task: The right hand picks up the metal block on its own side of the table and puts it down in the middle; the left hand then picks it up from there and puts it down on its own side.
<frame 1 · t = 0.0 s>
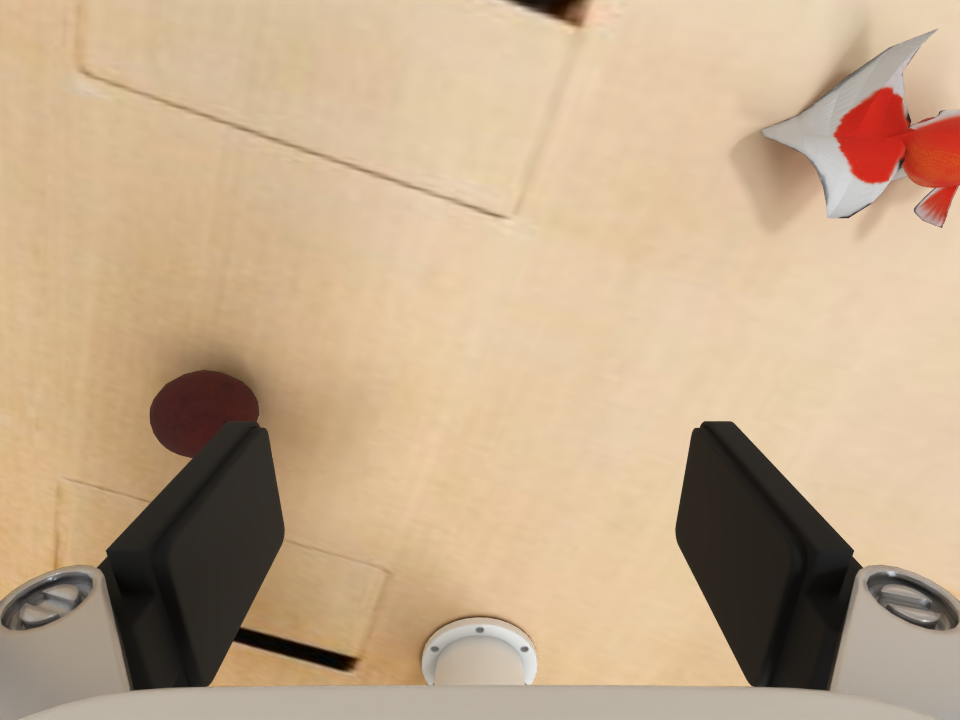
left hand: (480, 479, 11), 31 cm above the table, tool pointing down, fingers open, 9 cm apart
fish: (849, 148, 38), on the table
plum: (228, 395, 45), on the table
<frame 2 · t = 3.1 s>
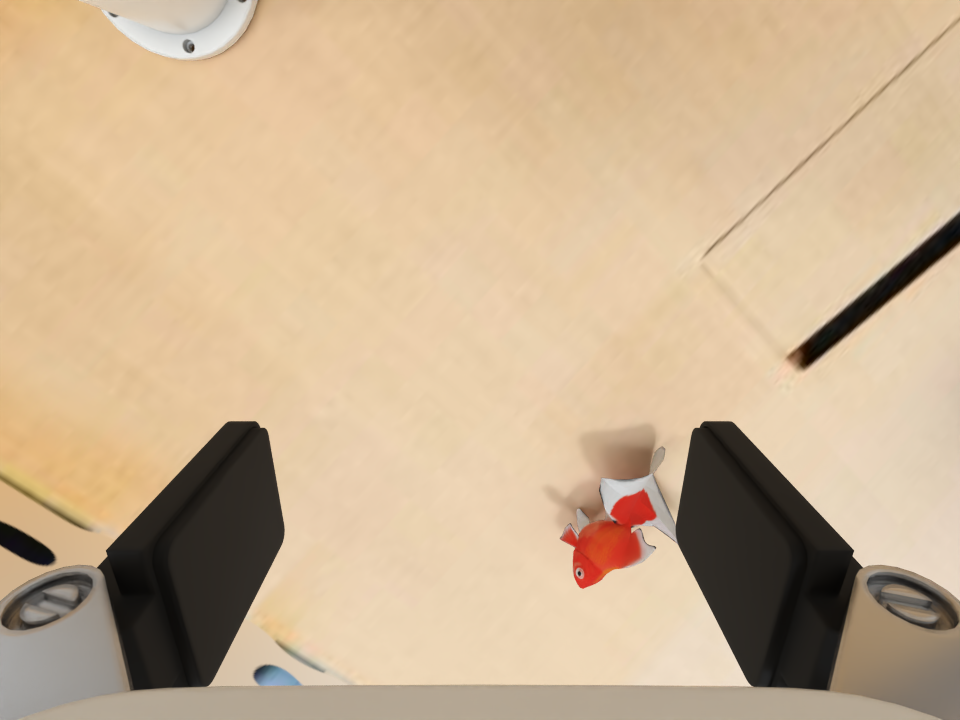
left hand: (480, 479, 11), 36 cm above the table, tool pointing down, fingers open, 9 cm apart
fish: (610, 491, 55), on the table
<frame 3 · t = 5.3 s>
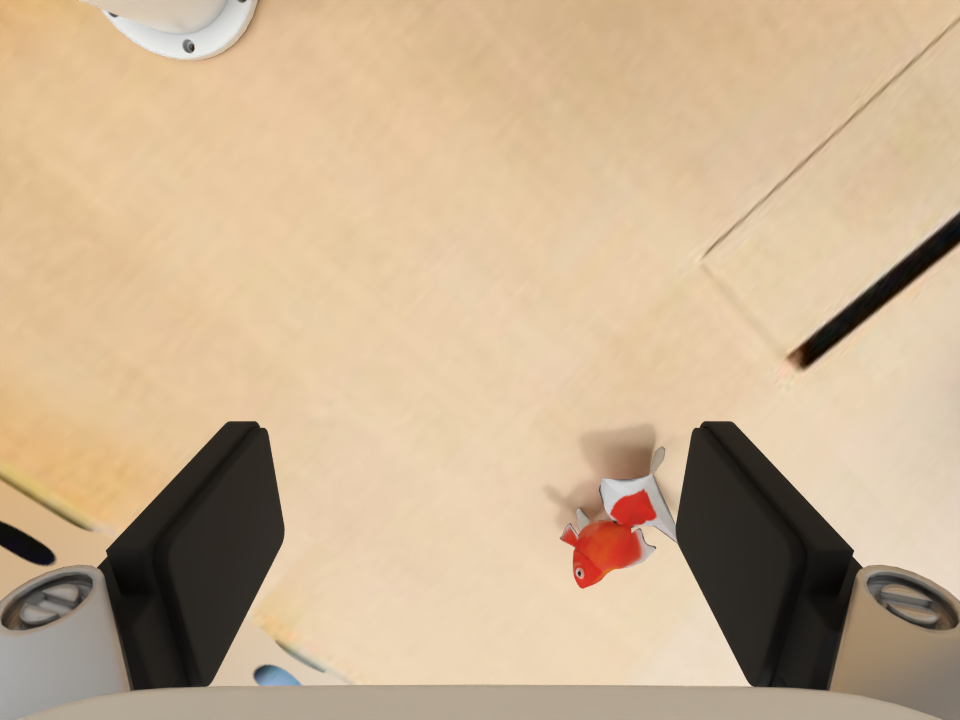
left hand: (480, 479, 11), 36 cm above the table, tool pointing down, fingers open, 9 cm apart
fish: (610, 491, 55), on the table
when the right hand's fingers open (8 cm above the table, at t = 7.6 s): block drops 1 cm, on the table.
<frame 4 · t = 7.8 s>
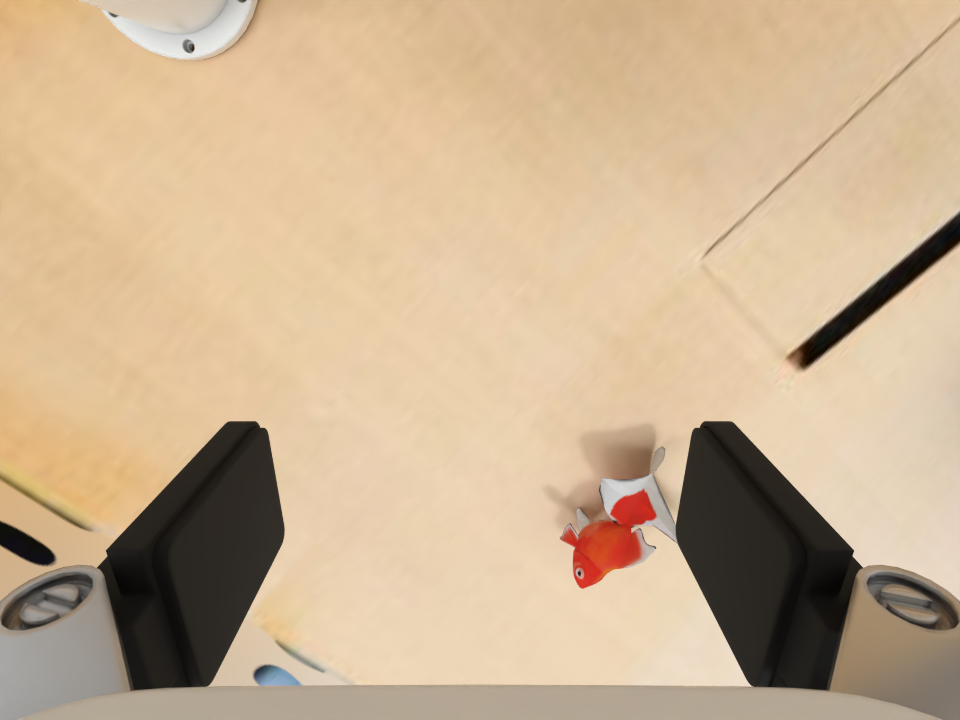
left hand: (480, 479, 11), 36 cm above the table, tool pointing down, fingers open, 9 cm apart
fish: (610, 491, 55), on the table
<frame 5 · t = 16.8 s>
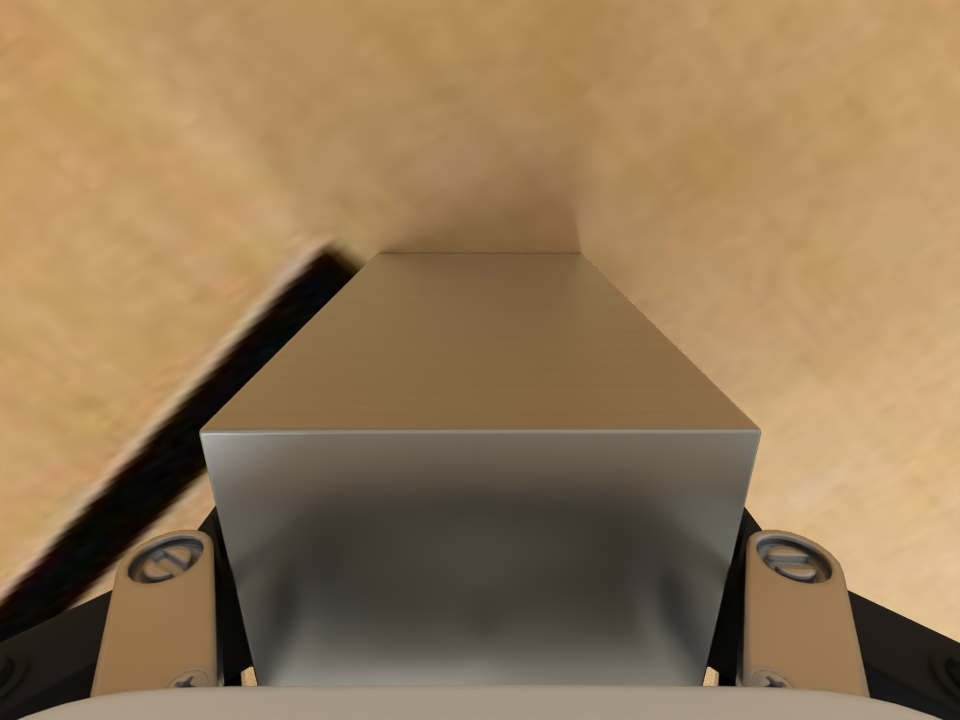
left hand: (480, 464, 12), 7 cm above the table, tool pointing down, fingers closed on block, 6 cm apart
block: (479, 353, 18), on the table, touching left hand
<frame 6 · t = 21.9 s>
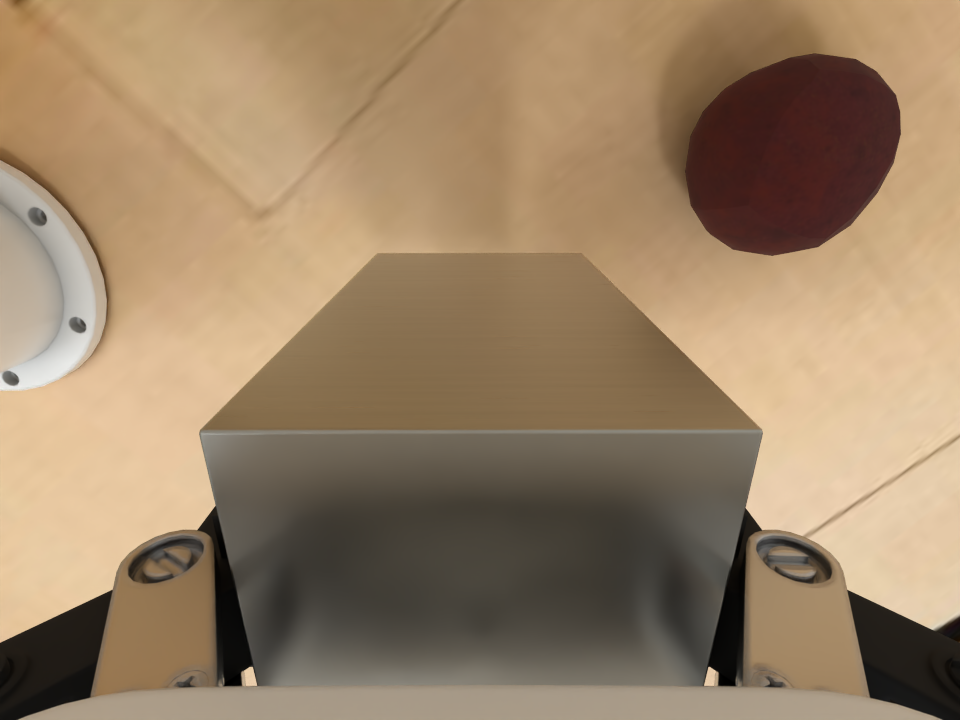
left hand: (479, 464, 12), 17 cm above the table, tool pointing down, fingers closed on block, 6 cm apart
plum: (739, 159, 25), on the table
block: (479, 353, 18), point 10 cm above the table, touching left hand
when the left hand's fingers open (8 cm above the table, at t = 27.3 s): block drops 1 cm, on the table.
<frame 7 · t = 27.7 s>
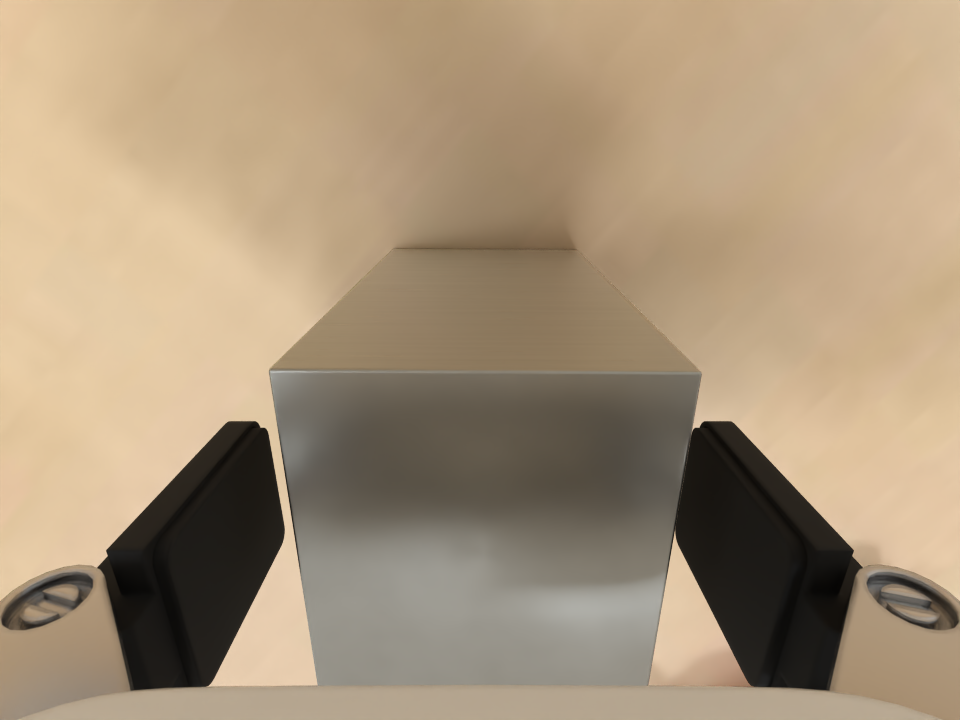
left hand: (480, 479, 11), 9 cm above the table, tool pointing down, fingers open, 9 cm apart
block: (484, 340, 20), on the table
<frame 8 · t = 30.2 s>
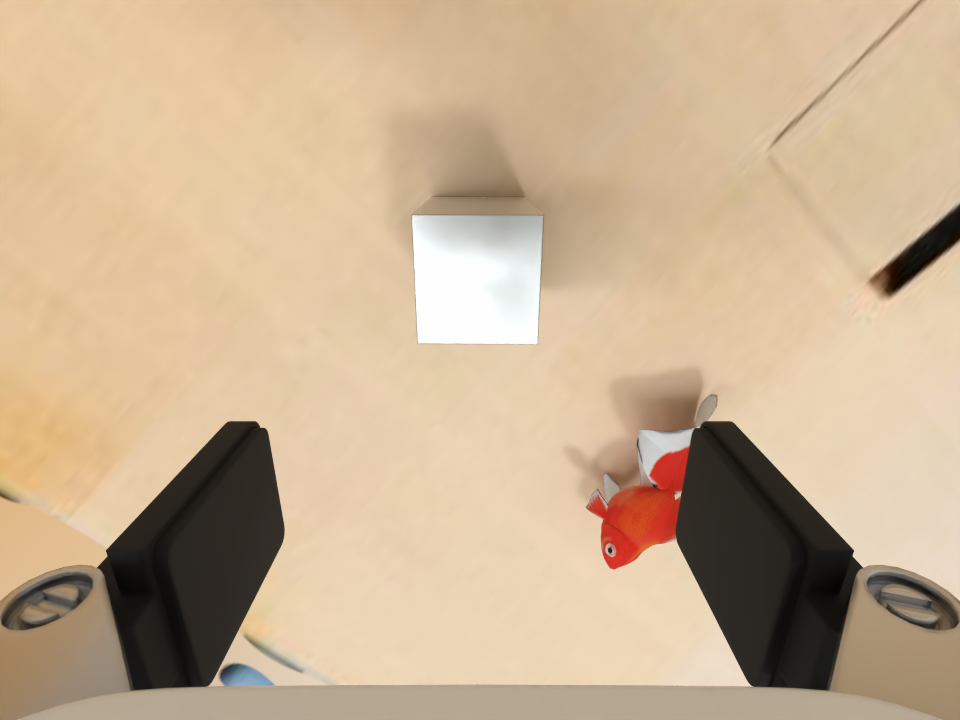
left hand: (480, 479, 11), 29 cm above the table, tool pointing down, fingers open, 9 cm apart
fish: (645, 452, 45), on the table
block: (478, 246, 39), on the table
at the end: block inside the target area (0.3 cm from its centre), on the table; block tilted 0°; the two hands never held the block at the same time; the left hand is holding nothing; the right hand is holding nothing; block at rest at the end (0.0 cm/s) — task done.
